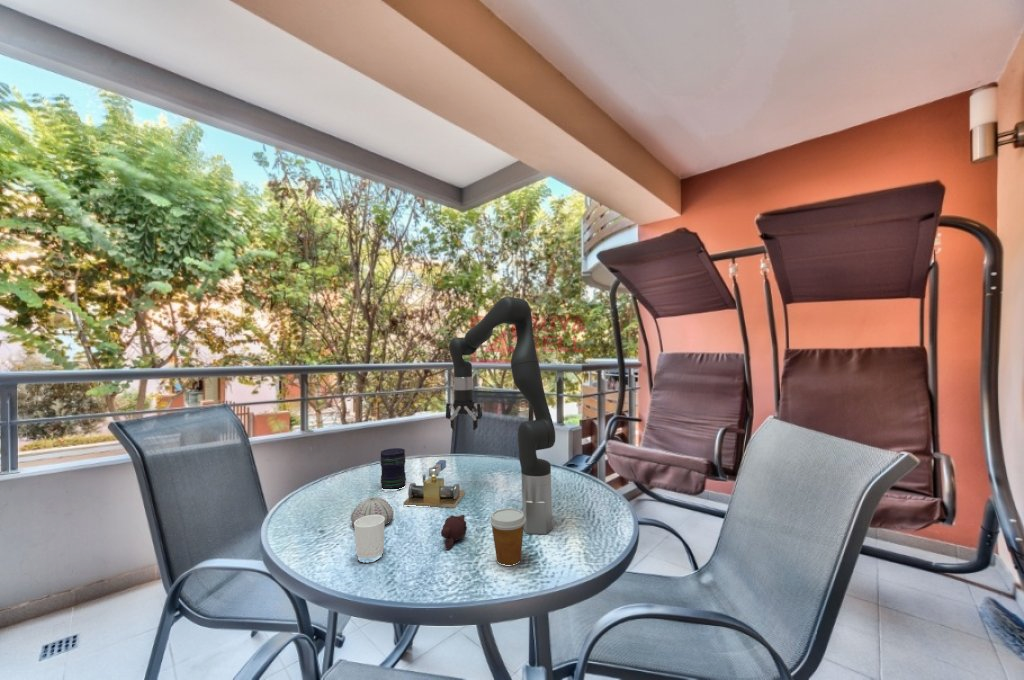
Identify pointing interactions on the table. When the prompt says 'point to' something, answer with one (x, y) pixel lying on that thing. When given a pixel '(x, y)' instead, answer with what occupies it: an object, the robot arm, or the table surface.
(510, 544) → the disposable coffee cup
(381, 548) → the white cup
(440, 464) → the lever
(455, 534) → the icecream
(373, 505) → the sea urchin shell
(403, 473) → the storage jar
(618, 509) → the table surface
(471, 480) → the table surface
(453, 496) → the valve
